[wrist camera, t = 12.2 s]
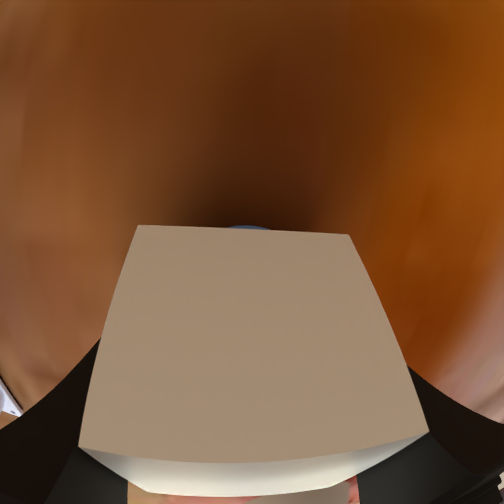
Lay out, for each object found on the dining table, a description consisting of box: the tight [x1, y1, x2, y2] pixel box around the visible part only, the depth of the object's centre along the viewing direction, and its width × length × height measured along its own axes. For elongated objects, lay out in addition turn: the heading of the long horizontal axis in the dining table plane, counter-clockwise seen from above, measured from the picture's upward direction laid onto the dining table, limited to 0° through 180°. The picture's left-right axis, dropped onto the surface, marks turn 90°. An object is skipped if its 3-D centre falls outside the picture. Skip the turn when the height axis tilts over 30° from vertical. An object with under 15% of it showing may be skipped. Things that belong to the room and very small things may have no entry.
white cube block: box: [78, 225, 429, 497], centre depth 9 cm, size 6×6×6 cm
